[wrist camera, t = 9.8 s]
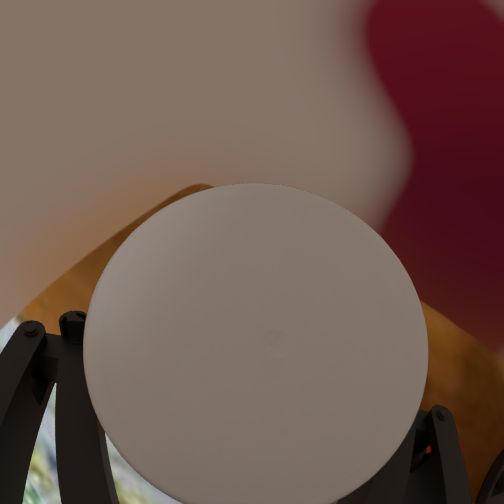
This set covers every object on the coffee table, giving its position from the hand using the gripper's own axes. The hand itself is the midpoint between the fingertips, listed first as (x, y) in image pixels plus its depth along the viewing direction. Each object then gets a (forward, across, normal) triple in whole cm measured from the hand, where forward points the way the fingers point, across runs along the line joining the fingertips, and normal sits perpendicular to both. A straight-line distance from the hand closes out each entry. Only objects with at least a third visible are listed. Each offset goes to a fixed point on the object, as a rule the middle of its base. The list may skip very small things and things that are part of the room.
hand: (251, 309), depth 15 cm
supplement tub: (+2, 0, -6) cm, 7 cm away
